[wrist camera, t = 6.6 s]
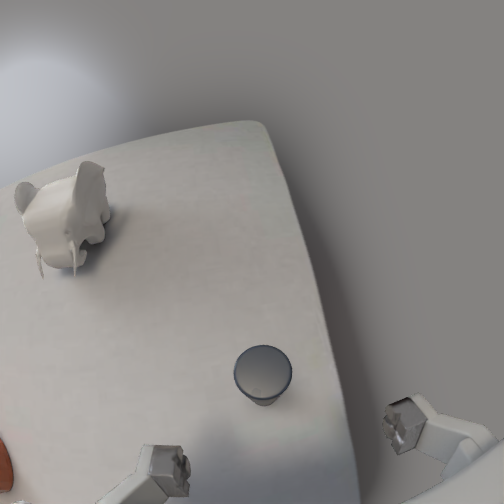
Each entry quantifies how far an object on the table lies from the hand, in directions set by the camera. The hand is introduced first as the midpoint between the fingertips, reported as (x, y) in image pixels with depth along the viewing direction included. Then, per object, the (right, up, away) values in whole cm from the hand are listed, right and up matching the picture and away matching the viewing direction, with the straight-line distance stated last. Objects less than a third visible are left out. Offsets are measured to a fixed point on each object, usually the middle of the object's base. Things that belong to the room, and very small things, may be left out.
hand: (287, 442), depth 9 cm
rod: (-1, -3, +9) cm, 10 cm away
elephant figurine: (-19, +8, +18) cm, 27 cm away
